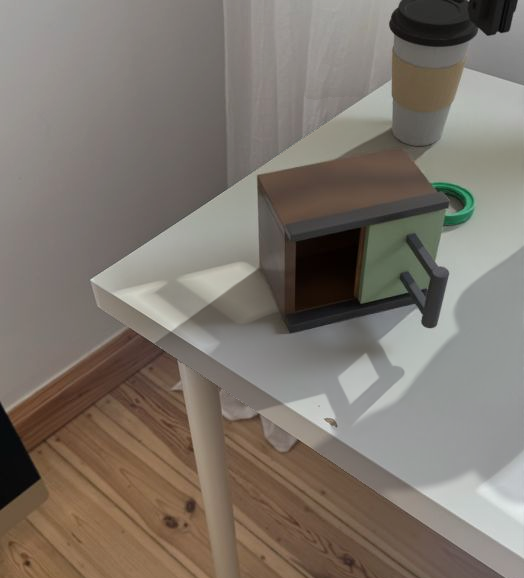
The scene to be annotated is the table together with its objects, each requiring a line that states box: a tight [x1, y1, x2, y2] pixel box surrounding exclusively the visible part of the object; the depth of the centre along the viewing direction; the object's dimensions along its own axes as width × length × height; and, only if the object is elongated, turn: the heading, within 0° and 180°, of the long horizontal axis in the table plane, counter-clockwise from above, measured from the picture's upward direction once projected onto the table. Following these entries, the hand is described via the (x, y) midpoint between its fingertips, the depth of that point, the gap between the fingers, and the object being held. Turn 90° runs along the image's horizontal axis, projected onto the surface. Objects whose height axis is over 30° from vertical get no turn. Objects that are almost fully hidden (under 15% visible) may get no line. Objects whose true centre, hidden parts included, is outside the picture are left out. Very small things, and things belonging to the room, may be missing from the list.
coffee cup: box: [388, 0, 479, 147], centre depth 83 cm, size 9×9×15 cm
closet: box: [256, 145, 451, 334], centre depth 67 cm, size 10×14×12 cm
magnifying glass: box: [429, 181, 477, 226], centre depth 78 cm, size 15×6×2 cm, turn 84°
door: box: [358, 209, 450, 329], centre depth 63 cm, size 7×7×9 cm
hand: (488, 25), depth 54 cm, fingers closed
